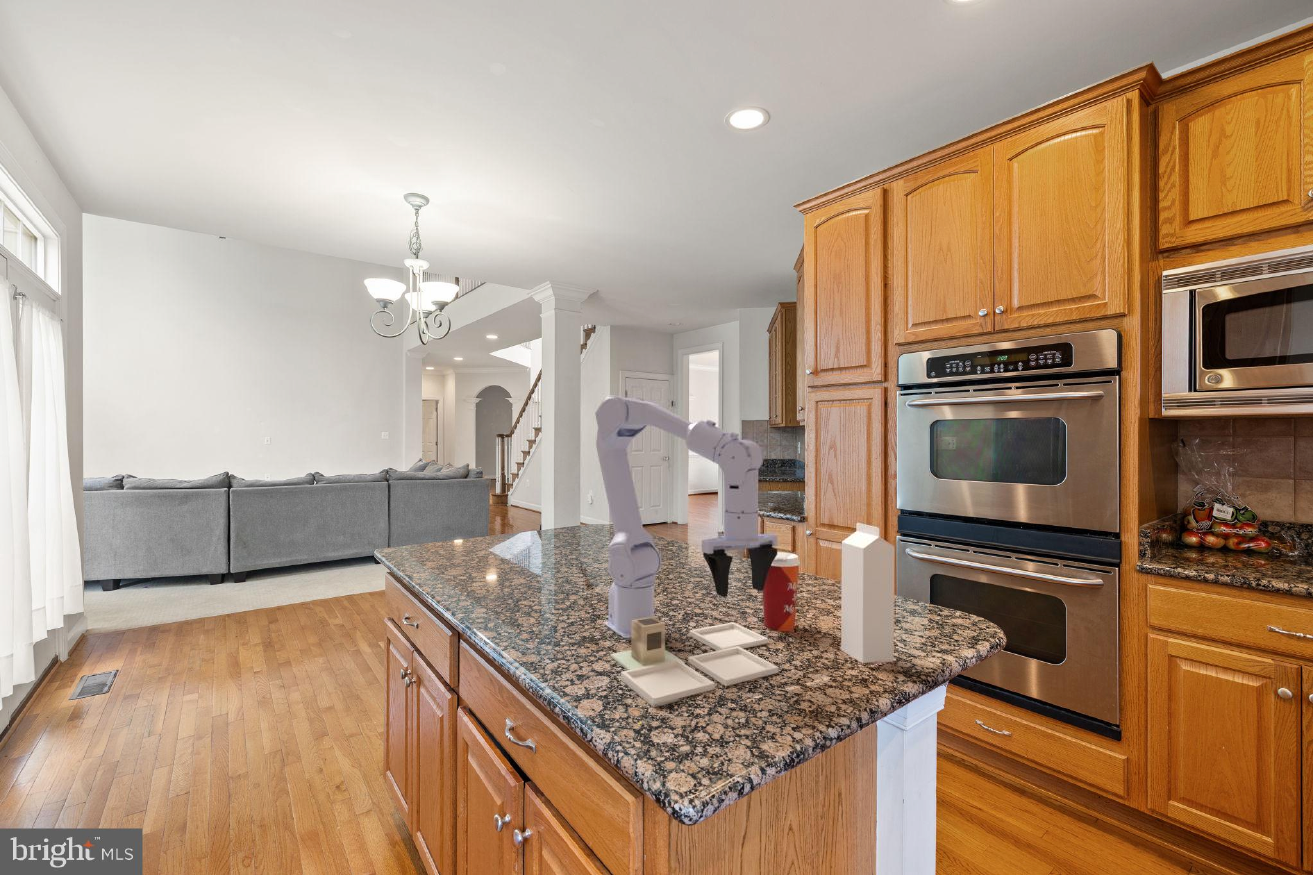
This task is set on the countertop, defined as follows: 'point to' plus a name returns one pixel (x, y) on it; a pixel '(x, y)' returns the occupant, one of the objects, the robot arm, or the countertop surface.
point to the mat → (631, 663)
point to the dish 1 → (666, 682)
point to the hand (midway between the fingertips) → (740, 592)
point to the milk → (867, 596)
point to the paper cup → (781, 592)
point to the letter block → (648, 640)
